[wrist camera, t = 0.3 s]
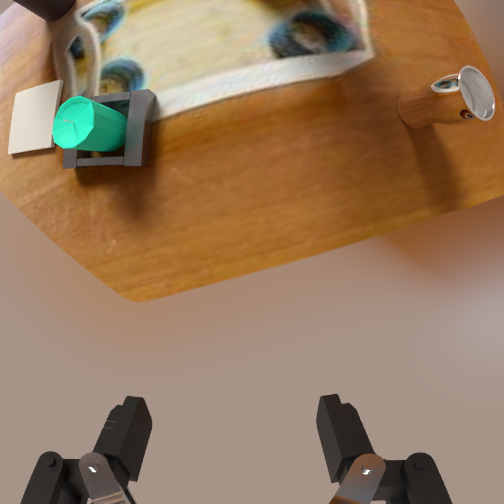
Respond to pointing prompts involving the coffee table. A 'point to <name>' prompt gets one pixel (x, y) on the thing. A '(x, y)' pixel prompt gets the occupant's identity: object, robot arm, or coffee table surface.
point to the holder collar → (135, 133)
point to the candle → (89, 126)
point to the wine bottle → (47, 7)
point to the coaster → (34, 117)
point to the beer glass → (448, 100)
